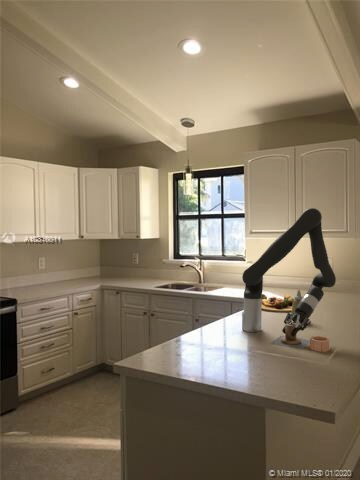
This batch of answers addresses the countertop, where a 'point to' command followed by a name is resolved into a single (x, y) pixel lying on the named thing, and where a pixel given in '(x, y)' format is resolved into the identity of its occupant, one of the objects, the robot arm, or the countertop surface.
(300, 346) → the rubber mat
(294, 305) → the squeeze bottle
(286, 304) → the wooden plate with food
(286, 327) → the walnut lid
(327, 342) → the terracotta bowl
